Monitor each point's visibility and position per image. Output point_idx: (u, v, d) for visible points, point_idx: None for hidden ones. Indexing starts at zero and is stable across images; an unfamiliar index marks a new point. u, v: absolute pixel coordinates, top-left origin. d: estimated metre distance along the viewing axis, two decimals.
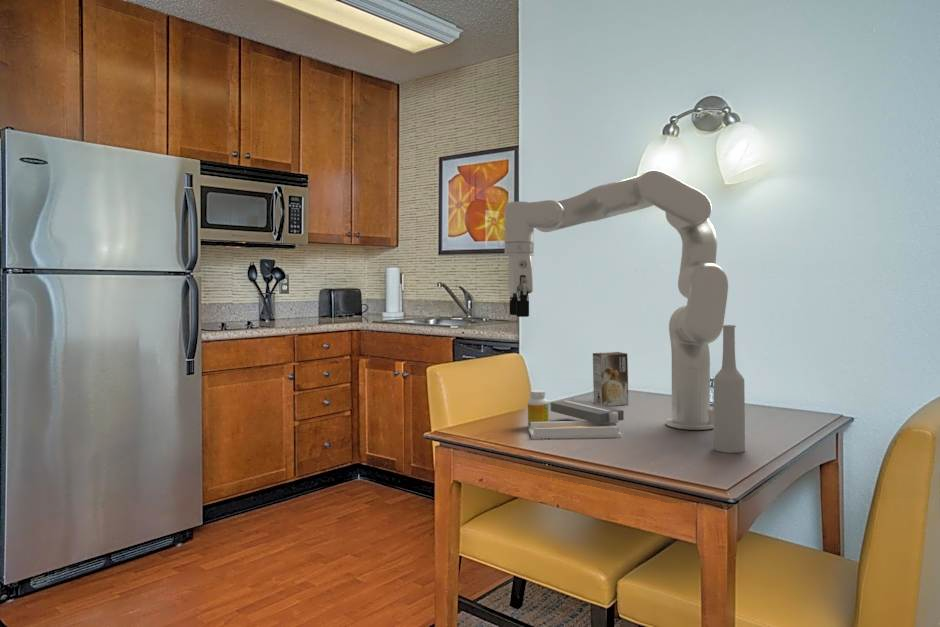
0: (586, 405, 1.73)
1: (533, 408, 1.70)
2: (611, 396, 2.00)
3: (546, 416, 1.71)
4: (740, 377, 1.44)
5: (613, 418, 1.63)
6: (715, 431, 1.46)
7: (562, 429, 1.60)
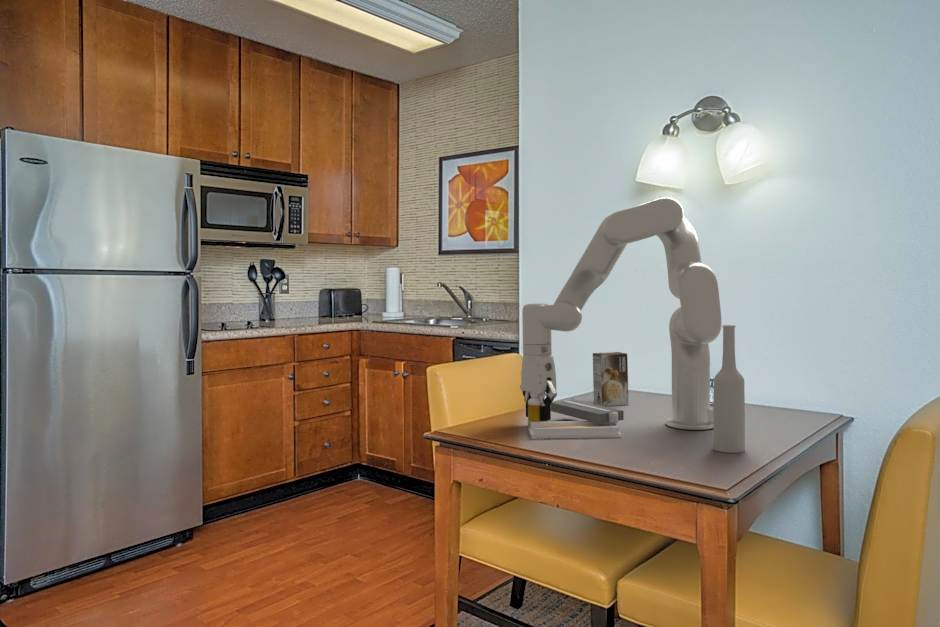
0: (586, 405, 1.73)
1: (533, 408, 1.70)
2: (611, 396, 2.00)
3: None
4: (740, 377, 1.44)
5: (613, 418, 1.63)
6: (715, 431, 1.46)
7: (562, 429, 1.60)
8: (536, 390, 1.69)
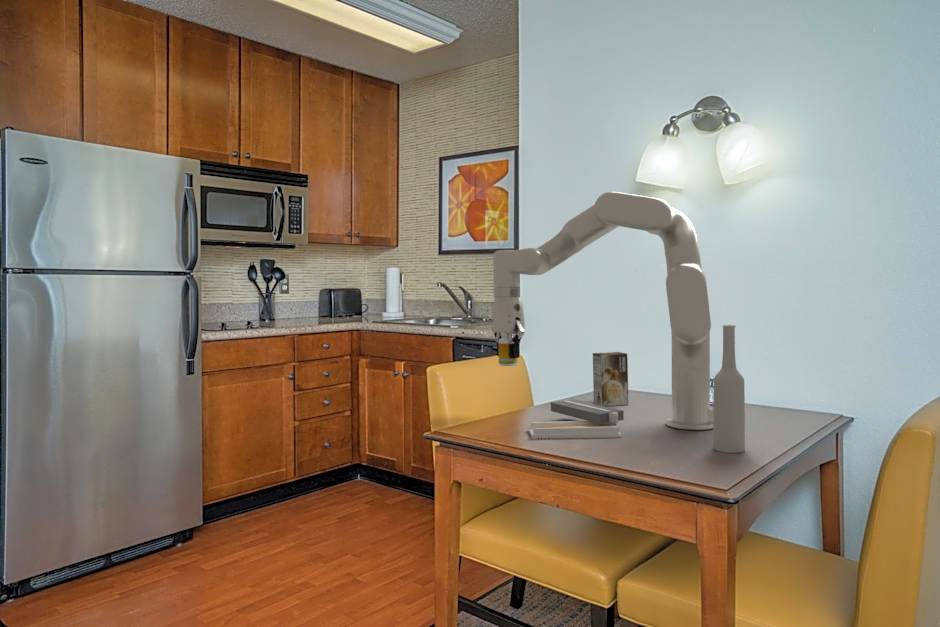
0: (586, 405, 1.73)
1: (503, 346, 1.84)
2: (611, 396, 2.00)
3: None
4: (740, 377, 1.44)
5: (613, 418, 1.63)
6: (715, 431, 1.46)
7: (562, 429, 1.60)
8: (506, 329, 1.83)
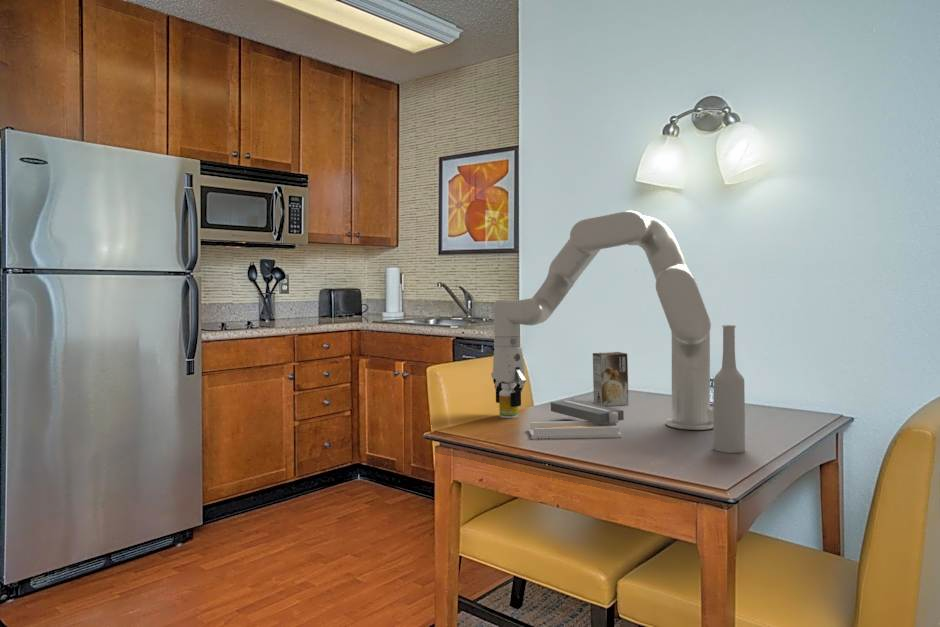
0: (586, 405, 1.73)
1: (504, 399, 1.85)
2: (611, 396, 2.00)
3: (516, 406, 1.85)
4: (740, 377, 1.44)
5: (613, 418, 1.63)
6: (715, 431, 1.46)
7: (562, 429, 1.60)
8: (506, 379, 1.84)
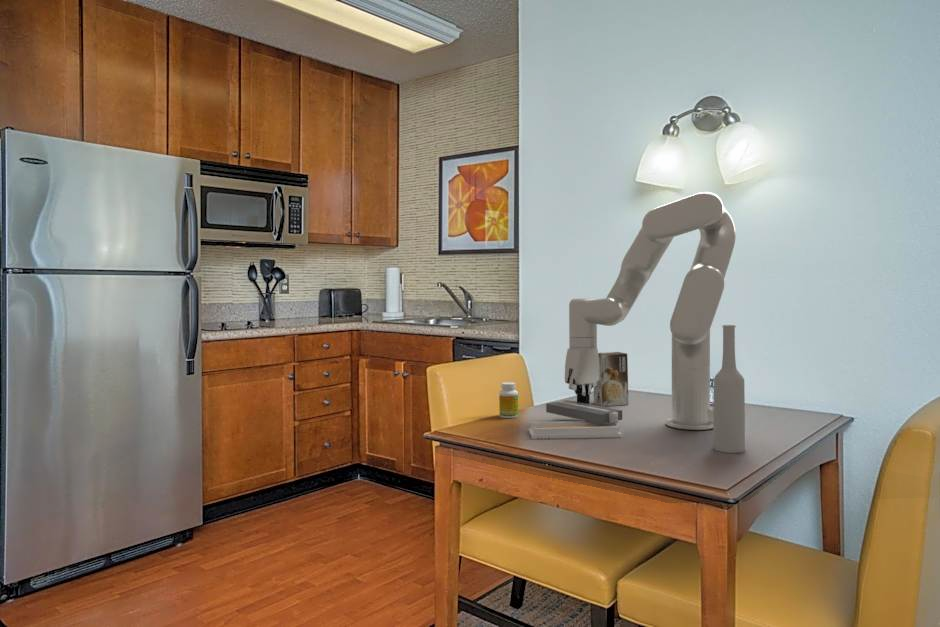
0: (583, 405, 1.73)
1: (504, 399, 1.85)
2: (611, 396, 2.00)
3: (516, 406, 1.85)
4: (740, 377, 1.44)
5: (613, 418, 1.63)
6: (715, 431, 1.46)
7: (562, 429, 1.60)
8: (594, 379, 1.80)
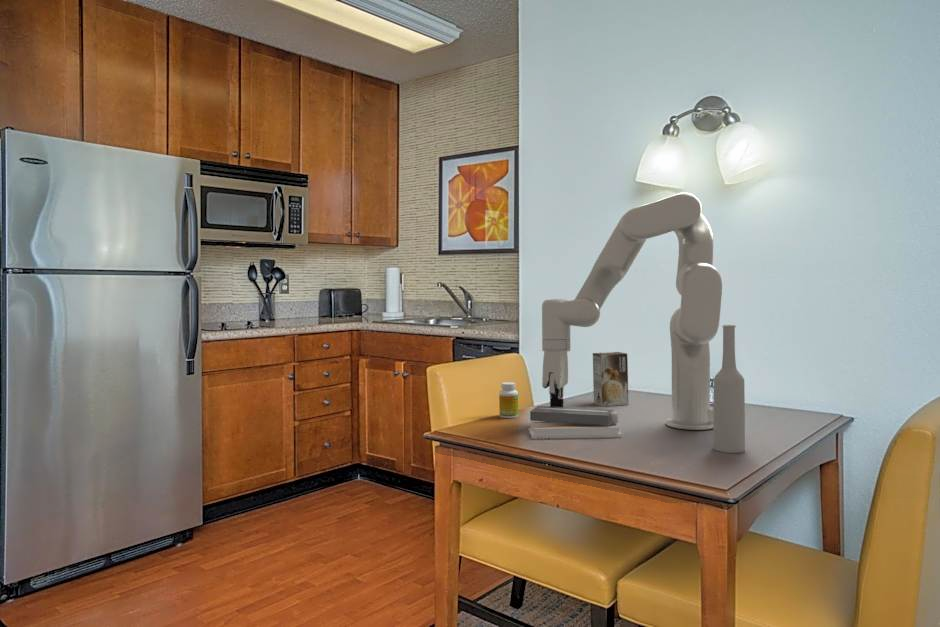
0: (572, 409, 1.68)
1: (504, 399, 1.85)
2: (611, 396, 2.00)
3: (516, 406, 1.85)
4: (740, 377, 1.44)
5: (616, 417, 1.63)
6: (715, 431, 1.46)
7: (562, 429, 1.60)
8: (566, 382, 1.77)
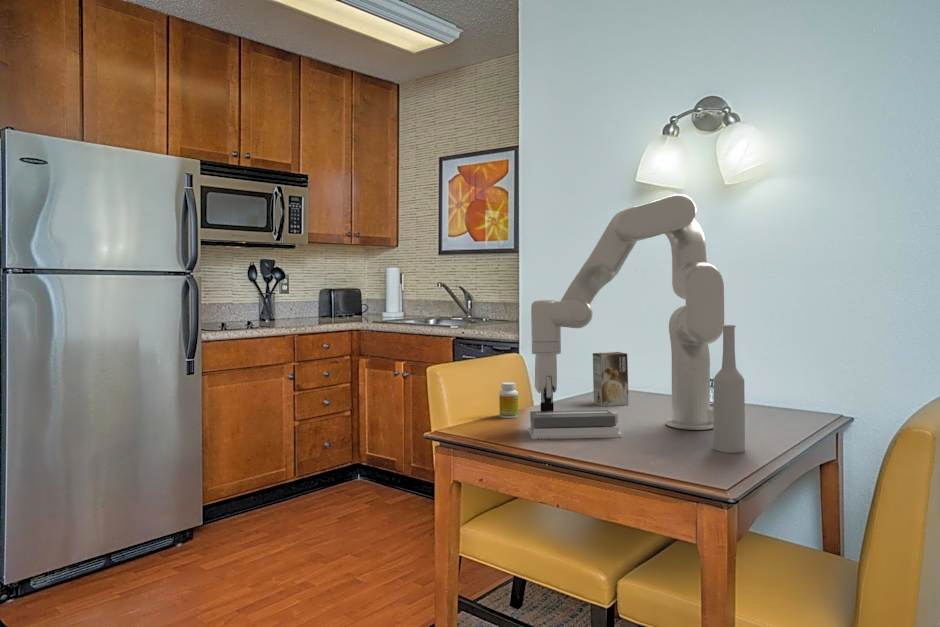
0: (571, 412, 1.64)
1: (504, 399, 1.85)
2: (611, 396, 2.00)
3: (516, 406, 1.85)
4: (740, 377, 1.44)
5: (617, 417, 1.63)
6: (715, 431, 1.46)
7: (562, 429, 1.60)
8: None
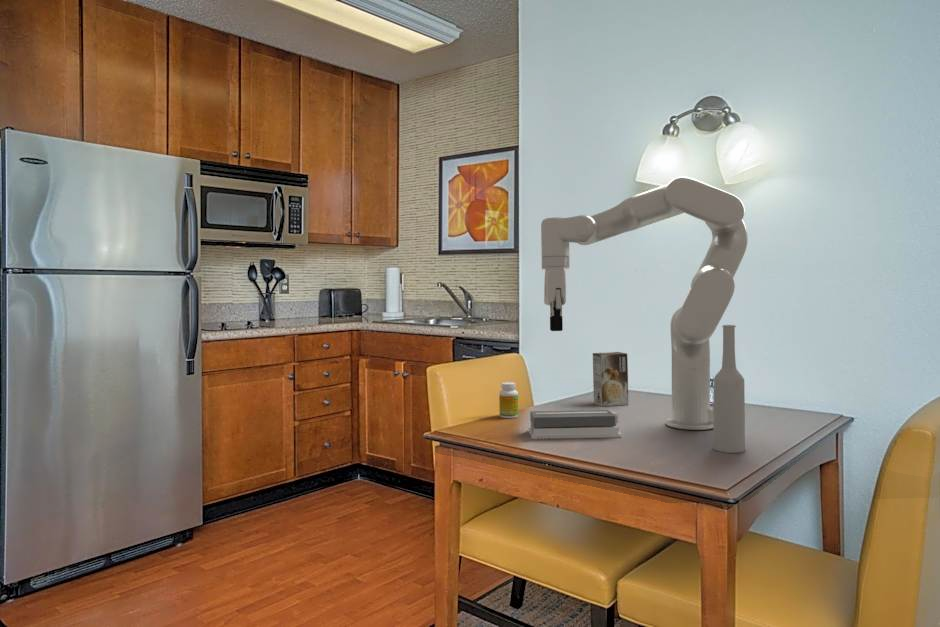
0: (571, 412, 1.64)
1: (504, 399, 1.85)
2: (611, 396, 2.00)
3: (516, 406, 1.85)
4: (740, 377, 1.44)
5: (617, 417, 1.63)
6: (715, 431, 1.46)
7: (562, 429, 1.60)
8: (562, 300, 1.80)
